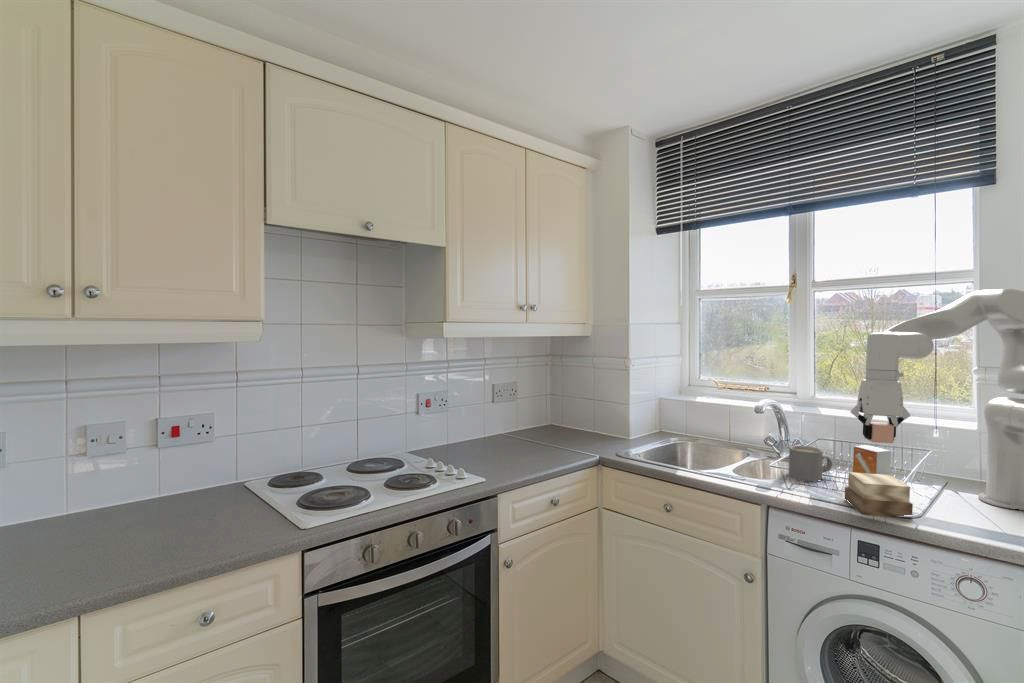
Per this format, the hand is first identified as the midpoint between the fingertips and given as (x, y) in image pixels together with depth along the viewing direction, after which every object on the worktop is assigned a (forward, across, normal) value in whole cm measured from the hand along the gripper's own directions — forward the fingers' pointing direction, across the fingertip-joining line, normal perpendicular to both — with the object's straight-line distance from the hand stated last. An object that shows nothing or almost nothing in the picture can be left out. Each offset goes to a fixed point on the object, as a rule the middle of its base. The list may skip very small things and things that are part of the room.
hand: (878, 438), depth 145 cm
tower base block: (+21, 0, 0) cm, 21 cm away
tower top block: (+16, 0, -1) cm, 16 cm away
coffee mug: (+21, +8, -28) cm, 36 cm away
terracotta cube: (+1, 0, 0) cm, 1 cm away
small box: (+21, -8, -21) cm, 31 cm away
